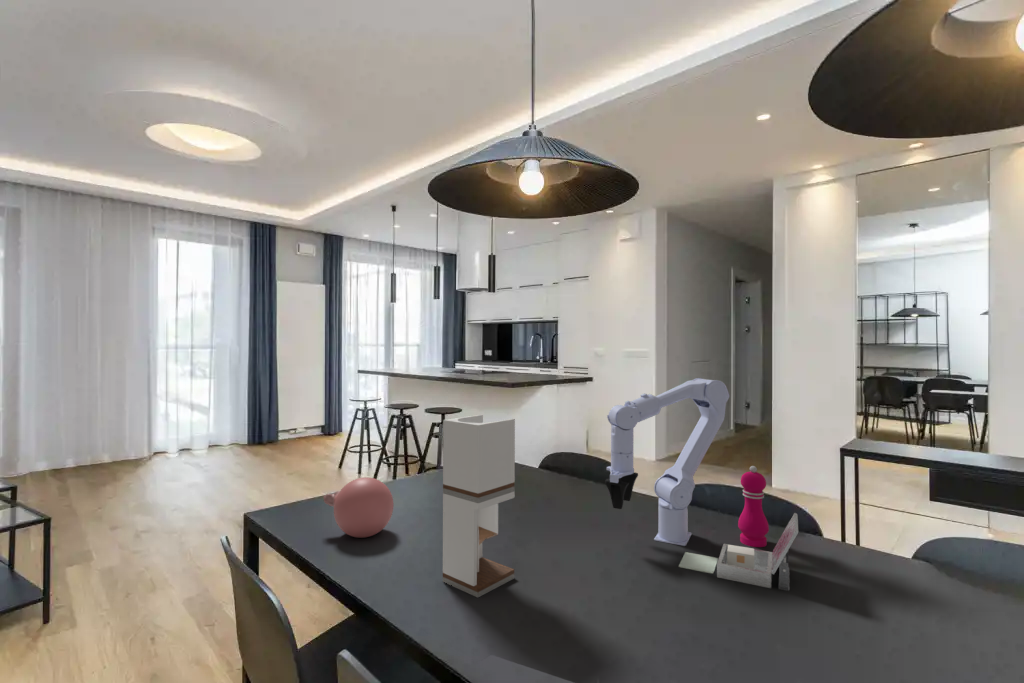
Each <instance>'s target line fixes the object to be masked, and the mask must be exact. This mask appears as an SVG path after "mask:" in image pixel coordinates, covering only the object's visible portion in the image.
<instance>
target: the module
mask: <svg viewBox="0 0 1024 683" xmlns="http://www.w3.org/2000/svg"><path fill="white" fill-rule="evenodd" d="M754 549H755V548H754V547H752V548H751V547H747V546H741V545H740V546H739V545H733V544H729V545H728V549H727V564H728V565H733V566H738V567H744V568H749V569H754Z"/></svg>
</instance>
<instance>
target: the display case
mask: <svg viewBox="0 0 1024 683" xmlns="http://www.w3.org/2000/svg"><path fill="white" fill-rule="evenodd" d="M442 424H443V425H442V428H443V429H442V430H443V431H442V433H443V434H442V435H443V436H442V438H443V440H442V448H443V449H442V583H444V582H445V584H446V583H447V584H446V585H448V586H449V585H450V586H451V585H452V586H451V587H453V588H456V589H458V590H460V591H462V592H464V593H467V594H469V595H471V596H473V597H476V598H477V599H478V598H479V597H481V596H483V595H486V594H487V593H489V592H491V591H493V590H495V589H497V588H499V587H500V586H503V585H505V584H506V583H508V582H510V581H512V580H514V579H515V568H512V567H509V566H507V565H504V564H501V563H499V562H496V561H494V560H491V559H489V558H485V557H483V542H484V541H485V540H486V541H487V540H489V539H491V538H494V537H496V536H498V535H499V504H500V503H503V502H507V501H508V500H512V499H514V498H515V496H516V495H515V494H516V493H515V489H516V488H515V486H516V485H515V480H516V477H515V476H516V474H515V472H516V469H515V468H516V467H515V465H516V463H515V461H516V459H515V456H516V455H515V454H516V450H515V449H516V448H515V447H516V440H515V439H516V431H515V430H516V426H515V425H516V420H515V418H507V419H501V420H496V421H490V422H489V421H488V422H484V414H476V415H469V416H462V417H456V418H449V419H448V418H447V419H442Z"/></svg>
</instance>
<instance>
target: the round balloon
mask: <svg viewBox="0 0 1024 683" xmlns="http://www.w3.org/2000/svg"><path fill="white" fill-rule="evenodd" d="M322 498H323V503H325V504H326V505H328V506H329V507H333V516H334V520H335V522H336V524H337V526H338V527H339V529H340V530H341V531H342V532H344V533H345V534H346V535H348V536H350V537H354V538H357V539H358V538H361V539H363V538H369V537H372V536H375V535H376V534H378V533H380V532H381V531H382V530H384V528H385V527H386V526H387V525H388V524H389V522H390V521H391V518H392V516H393V512H394V507H395V506H394V505H395V504H394V497H393V494H392V492H391V491H390V489H389V487H388V486H387V485H386V484H385V483H384V482H382V481H381V480H379V479H377V478H374V477H366V476H365V477H359V478H355V479H353V480H351V481H349V482H347V483H346V484H345V485H344V486H343V487H342V488H341V489H340V490H337V491H335V492H334V493H327V494H324V495H323V497H322Z"/></svg>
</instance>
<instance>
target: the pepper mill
mask: <svg viewBox="0 0 1024 683" xmlns="http://www.w3.org/2000/svg"><path fill="white" fill-rule="evenodd" d="M740 484H741V486H742V488H743V489H742V496H744V507H743V509H742V512H741V513H740V515H739V518H738V522H737V527H738V529H739V530H740V532H741V533H740V534H739V541H740V543H741V544H743V545H745V546H748V547H752V548H763V547H764V548H765V547H766V546H767V544H768V543H767V541H768V538H767V537H766V535H767V534H768V533H769V532H770V531H769V530H770V528H769V527H770V526H769V522H768V520H767V517H766V516H765V513H764V510H763V499H765V495H764V494H765V492H764V490H765V488H766V487H767V481H766V478H765V477H764V475H763V474H762V473H761V472H758V468H757V467H756V466H755V465H751V466H750V467H749V471H746V472H744V473H743V474H742V475H741V477H740Z"/></svg>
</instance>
